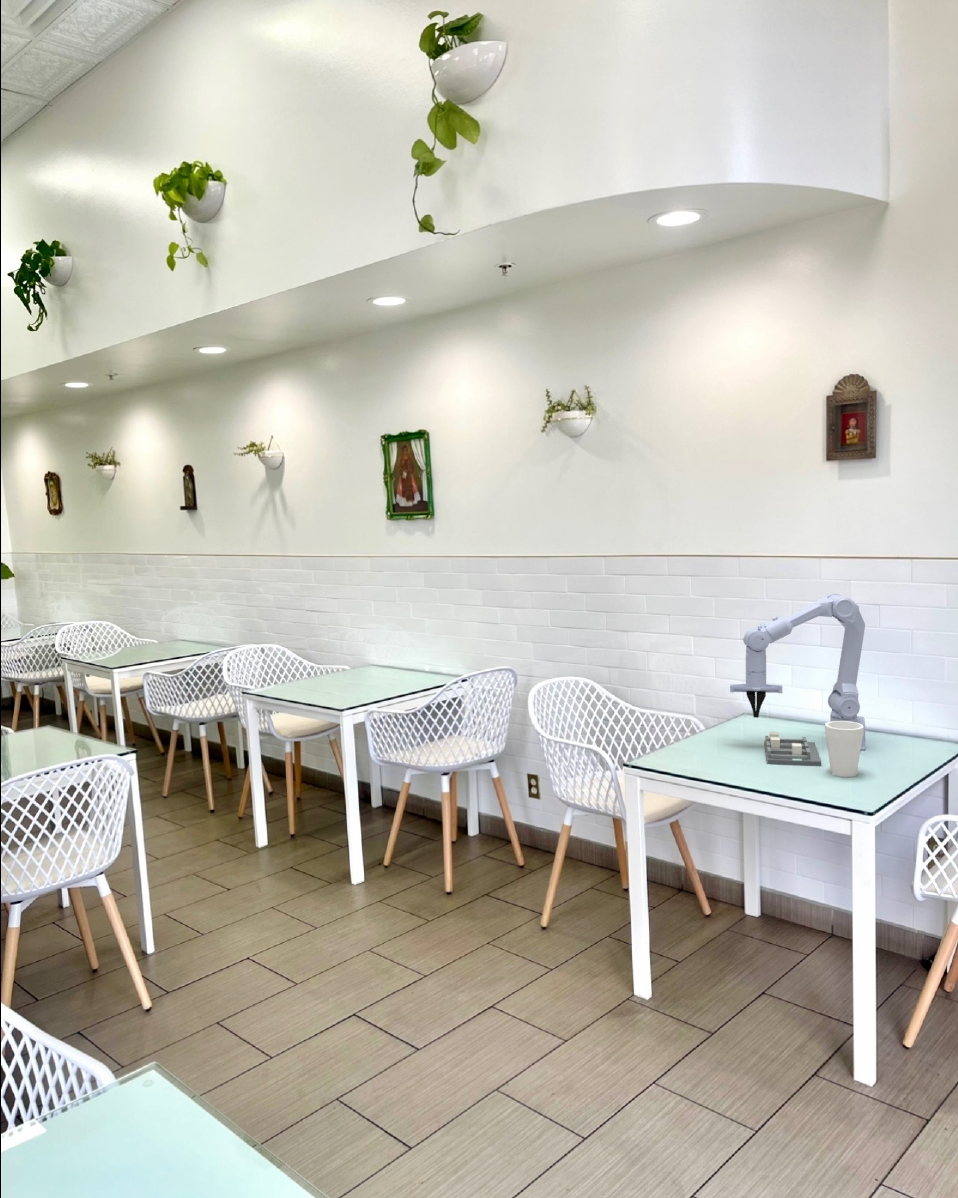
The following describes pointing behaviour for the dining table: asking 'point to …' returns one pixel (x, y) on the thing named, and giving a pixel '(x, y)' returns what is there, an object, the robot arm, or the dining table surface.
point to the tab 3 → (796, 749)
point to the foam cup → (844, 747)
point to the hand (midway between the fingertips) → (756, 716)
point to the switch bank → (785, 753)
